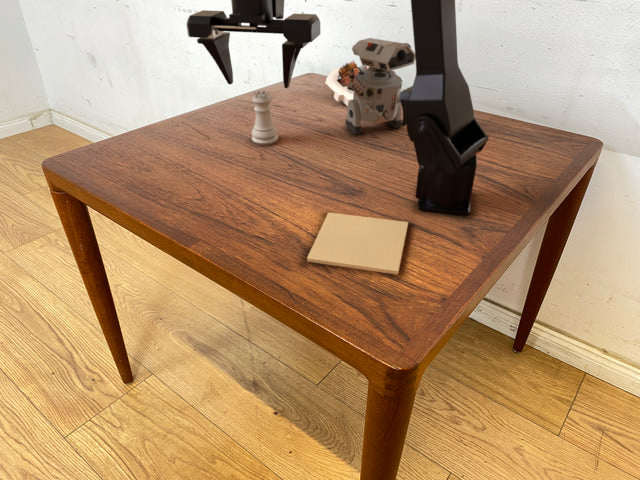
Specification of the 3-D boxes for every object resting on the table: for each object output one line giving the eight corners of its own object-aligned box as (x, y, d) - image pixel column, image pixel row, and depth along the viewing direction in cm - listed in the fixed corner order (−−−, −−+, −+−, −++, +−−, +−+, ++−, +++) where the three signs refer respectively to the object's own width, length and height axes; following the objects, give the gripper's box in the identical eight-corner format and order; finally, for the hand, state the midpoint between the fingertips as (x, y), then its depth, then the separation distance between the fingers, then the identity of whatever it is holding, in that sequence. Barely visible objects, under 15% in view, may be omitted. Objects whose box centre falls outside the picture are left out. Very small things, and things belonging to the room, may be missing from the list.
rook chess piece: (248, 137, 83) (244, 90, 78) (274, 133, 84) (270, 87, 80) (255, 147, 79) (251, 99, 75) (281, 143, 81) (279, 95, 76)
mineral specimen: (357, 73, 107) (362, 43, 101) (391, 103, 101) (399, 73, 96) (312, 88, 102) (315, 57, 96) (345, 120, 96) (350, 89, 91)
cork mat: (408, 225, 59) (408, 221, 59) (398, 275, 52) (398, 271, 51) (328, 215, 62) (328, 212, 61) (307, 261, 54) (306, 258, 53)
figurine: (369, 148, 79) (374, 51, 70) (342, 124, 88) (343, 35, 79) (419, 140, 81) (429, 45, 73) (387, 117, 90) (393, 30, 82)
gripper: (329, -34, 71) (329, 74, 80) (211, -36, 75) (223, 68, 84) (309, -26, 62) (311, 96, 71) (176, -28, 66) (194, 87, 75)
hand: (258, 85), depth 76 cm, fingers open, 9 cm apart
